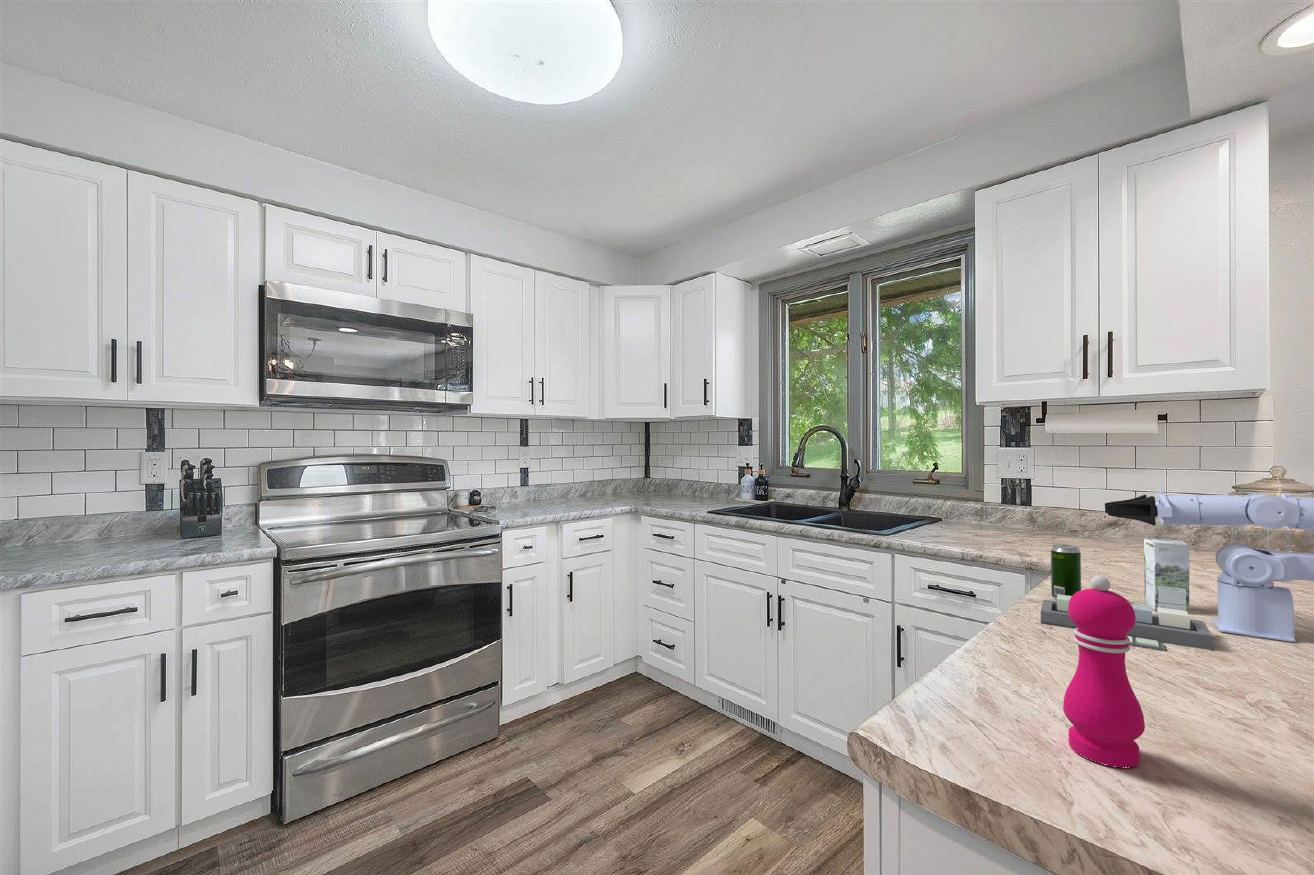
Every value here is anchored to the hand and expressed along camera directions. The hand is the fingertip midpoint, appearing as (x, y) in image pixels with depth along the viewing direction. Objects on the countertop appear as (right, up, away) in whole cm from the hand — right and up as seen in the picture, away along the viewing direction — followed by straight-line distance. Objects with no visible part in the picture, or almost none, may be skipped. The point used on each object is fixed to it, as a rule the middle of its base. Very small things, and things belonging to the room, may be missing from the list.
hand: (1106, 509), depth 115 cm
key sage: (-12, -19, -5) cm, 23 cm away
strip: (-11, -21, -17) cm, 29 cm away
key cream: (0, -19, -15) cm, 24 cm away
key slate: (-4, -19, -12) cm, 23 cm away
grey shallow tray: (-6, -21, -10) cm, 24 cm away
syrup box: (+14, -22, +2) cm, 26 cm away
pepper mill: (-43, -21, -52) cm, 71 cm away
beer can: (-1, -22, +9) cm, 24 cm away
